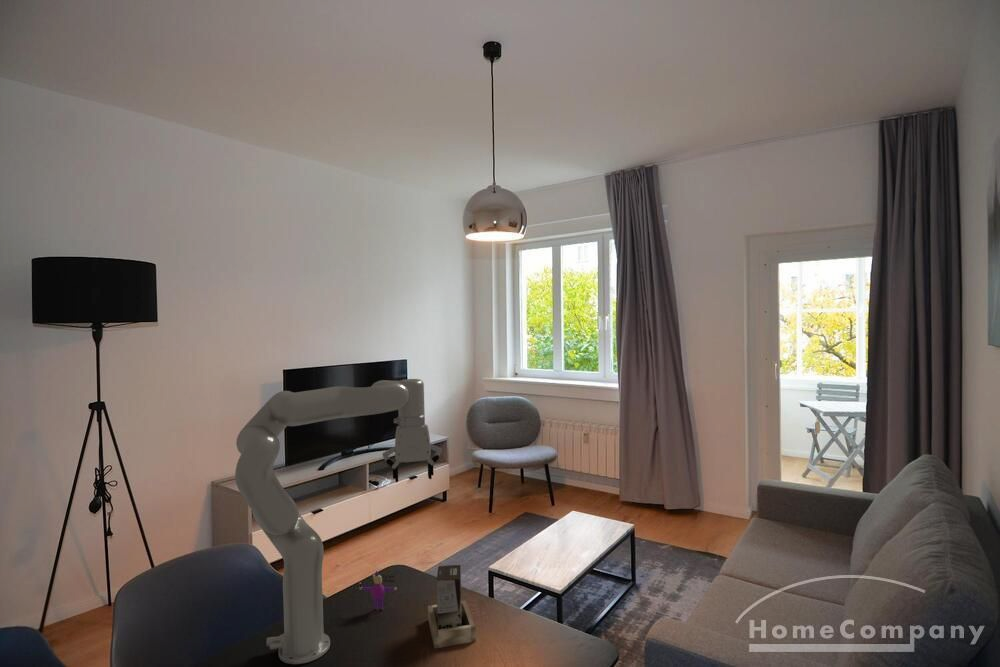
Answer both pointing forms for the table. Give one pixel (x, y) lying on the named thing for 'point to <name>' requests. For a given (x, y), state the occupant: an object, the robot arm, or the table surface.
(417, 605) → the table surface
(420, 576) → the table surface
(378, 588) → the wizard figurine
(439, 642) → the open wooden box
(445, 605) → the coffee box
